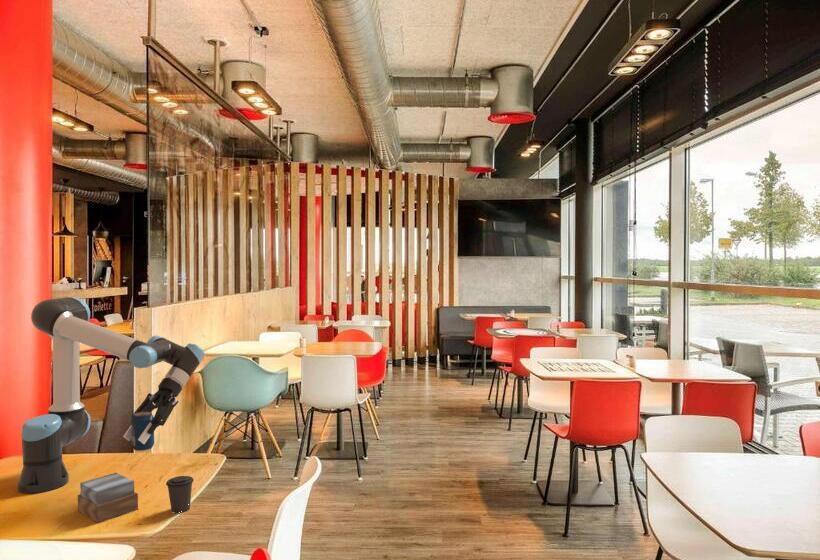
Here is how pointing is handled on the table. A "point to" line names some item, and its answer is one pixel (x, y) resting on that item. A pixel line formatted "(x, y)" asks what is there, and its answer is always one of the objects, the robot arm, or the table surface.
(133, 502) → the two-tone square slab
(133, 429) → the soda can
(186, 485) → the coffee cup
